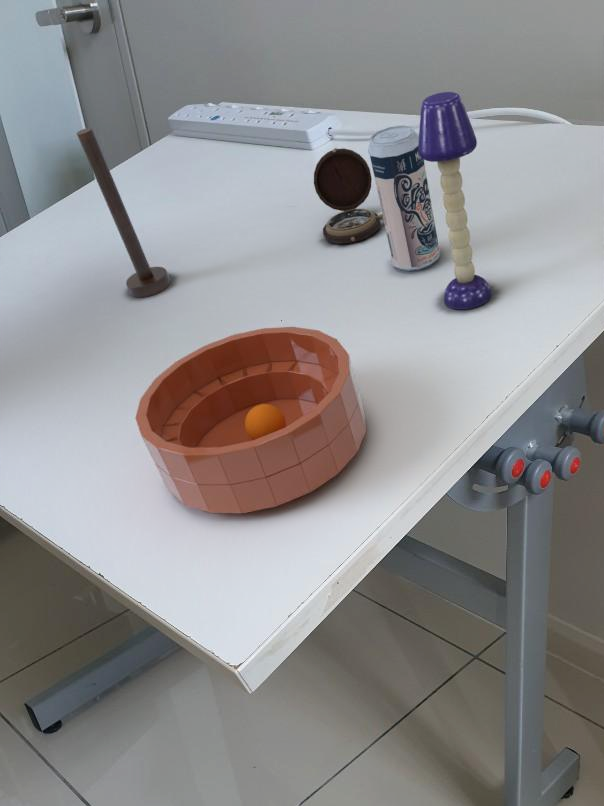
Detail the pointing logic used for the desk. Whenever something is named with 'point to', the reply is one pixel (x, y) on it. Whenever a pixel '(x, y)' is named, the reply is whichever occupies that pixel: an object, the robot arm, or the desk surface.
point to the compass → (345, 195)
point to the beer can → (404, 197)
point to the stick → (123, 223)
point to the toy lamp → (453, 189)
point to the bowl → (226, 412)
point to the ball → (264, 421)
